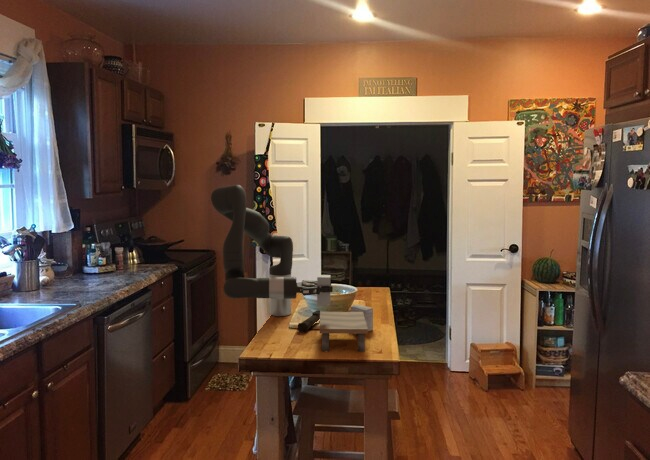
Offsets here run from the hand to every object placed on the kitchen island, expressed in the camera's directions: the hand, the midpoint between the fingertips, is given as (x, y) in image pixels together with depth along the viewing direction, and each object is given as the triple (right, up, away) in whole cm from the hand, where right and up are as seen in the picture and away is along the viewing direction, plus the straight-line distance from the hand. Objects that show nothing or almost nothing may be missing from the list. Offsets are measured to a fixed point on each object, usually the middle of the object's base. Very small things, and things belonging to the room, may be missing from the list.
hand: (331, 287), depth 182 cm
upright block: (-3, -6, 0) cm, 7 cm away
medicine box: (+12, -18, +19) cm, 29 cm away
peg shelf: (+4, -20, +3) cm, 20 cm away
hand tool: (-8, -18, +23) cm, 30 cm away
